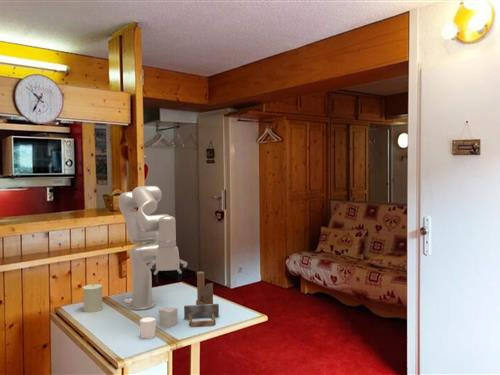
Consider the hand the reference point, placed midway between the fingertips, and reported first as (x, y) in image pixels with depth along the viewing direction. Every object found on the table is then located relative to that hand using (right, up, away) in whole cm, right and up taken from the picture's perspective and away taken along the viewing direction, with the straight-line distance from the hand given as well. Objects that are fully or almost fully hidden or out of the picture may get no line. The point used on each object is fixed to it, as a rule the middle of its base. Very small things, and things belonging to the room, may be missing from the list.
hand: (168, 282), depth 185 cm
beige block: (0, -20, +1) cm, 20 cm away
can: (-42, -19, +23) cm, 51 cm away
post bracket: (+15, -19, +4) cm, 24 cm away
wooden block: (+14, -19, +22) cm, 32 cm away
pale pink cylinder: (-6, -20, -11) cm, 24 cm away
